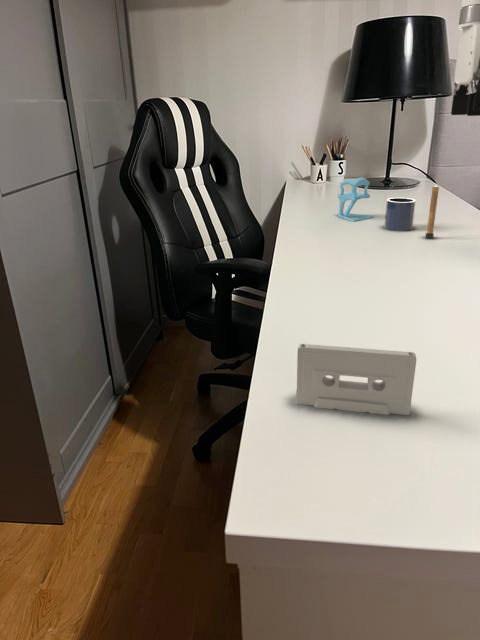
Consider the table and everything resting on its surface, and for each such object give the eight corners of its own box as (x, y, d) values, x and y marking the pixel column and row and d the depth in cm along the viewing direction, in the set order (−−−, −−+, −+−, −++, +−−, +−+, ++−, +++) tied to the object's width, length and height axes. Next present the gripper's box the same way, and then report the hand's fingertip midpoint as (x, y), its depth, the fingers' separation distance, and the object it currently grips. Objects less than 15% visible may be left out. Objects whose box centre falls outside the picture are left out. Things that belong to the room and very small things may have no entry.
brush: (431, 240, 122) (438, 185, 116) (433, 242, 120) (440, 186, 115) (424, 240, 122) (430, 185, 117) (426, 242, 120) (432, 186, 115)
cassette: (294, 411, 55) (296, 349, 52) (297, 402, 56) (298, 341, 53) (409, 423, 52) (418, 358, 49) (408, 414, 54) (416, 350, 51)
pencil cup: (408, 227, 134) (411, 197, 131) (414, 234, 128) (418, 202, 125) (381, 228, 135) (384, 197, 132) (386, 234, 128) (389, 202, 125)
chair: (350, 215, 151) (352, 174, 146) (372, 219, 145) (375, 177, 140) (332, 219, 147) (334, 176, 142) (353, 223, 141) (356, 179, 136)
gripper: (520, 9, 87) (502, 115, 94) (483, 24, 103) (470, 114, 110) (476, 11, 88) (461, 116, 95) (446, 26, 104) (435, 115, 111)
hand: (466, 115), depth 102 cm, fingers open, 9 cm apart
